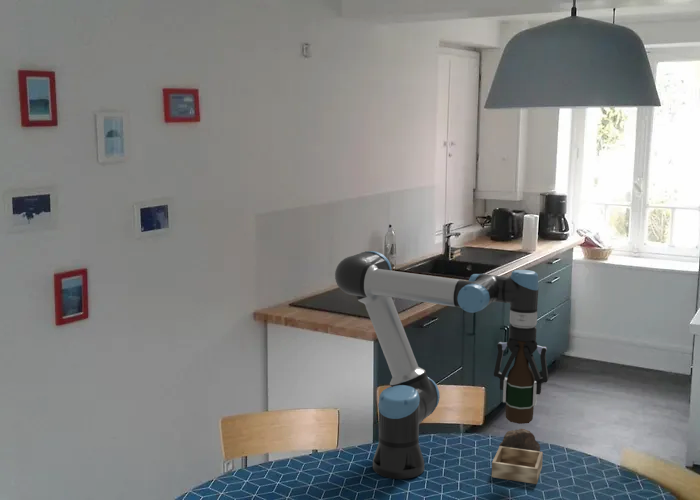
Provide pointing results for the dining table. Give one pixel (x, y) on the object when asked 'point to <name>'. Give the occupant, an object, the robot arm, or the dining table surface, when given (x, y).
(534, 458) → the caddy
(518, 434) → the rock
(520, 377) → the beer bottle
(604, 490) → the dining table surface
